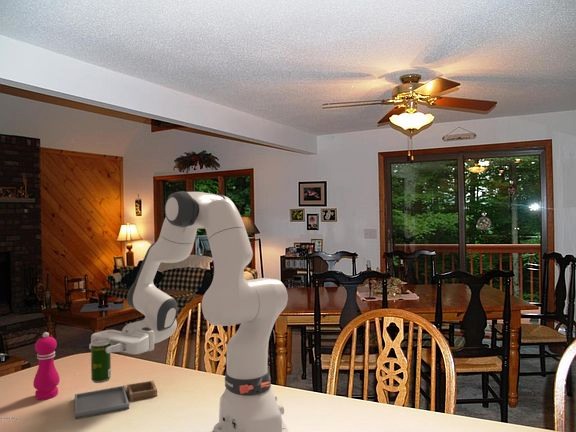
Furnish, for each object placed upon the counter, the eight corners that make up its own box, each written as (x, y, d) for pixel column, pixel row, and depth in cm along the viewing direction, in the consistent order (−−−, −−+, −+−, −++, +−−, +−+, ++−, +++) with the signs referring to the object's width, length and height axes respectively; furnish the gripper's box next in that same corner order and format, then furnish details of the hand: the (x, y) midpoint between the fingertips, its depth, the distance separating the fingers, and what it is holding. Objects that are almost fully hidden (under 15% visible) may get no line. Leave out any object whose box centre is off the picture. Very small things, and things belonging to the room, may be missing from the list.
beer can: (111, 375, 136) (111, 336, 135) (109, 382, 130) (109, 341, 130) (92, 377, 134) (92, 338, 134) (90, 384, 129) (89, 343, 129)
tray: (129, 408, 129) (128, 403, 129) (75, 419, 123) (75, 413, 123) (123, 390, 142) (123, 385, 142) (74, 399, 136) (74, 394, 136)
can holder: (157, 395, 138) (157, 389, 138) (130, 401, 134) (130, 394, 134) (153, 386, 145) (152, 380, 145) (127, 391, 141) (127, 384, 141)
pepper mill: (48, 401, 134) (47, 336, 134) (28, 399, 136) (26, 334, 135) (65, 391, 141) (63, 329, 141) (45, 389, 143) (44, 328, 142)
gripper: (112, 322, 148) (75, 333, 136) (157, 330, 139) (121, 343, 126) (113, 341, 149) (76, 353, 136) (157, 350, 139) (121, 365, 127)
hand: (98, 348), depth 131 cm, fingers closed on beer can, 5 cm apart
